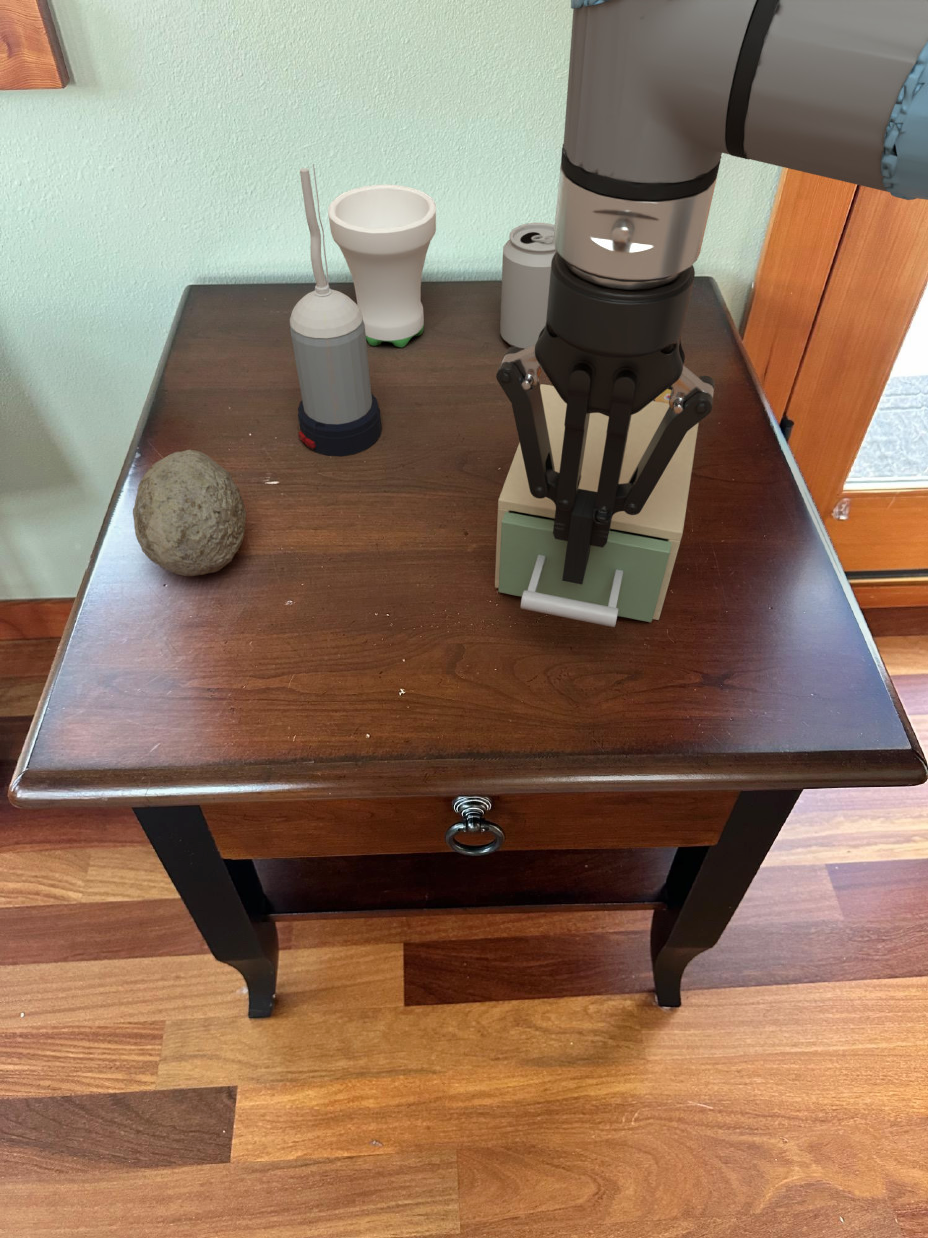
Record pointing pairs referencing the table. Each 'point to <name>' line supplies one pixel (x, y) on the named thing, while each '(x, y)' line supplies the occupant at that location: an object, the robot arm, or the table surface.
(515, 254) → the can
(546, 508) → the cabinet
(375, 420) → the humidifier
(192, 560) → the decorative stone
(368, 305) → the cup
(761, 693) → the table surface
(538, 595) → the drawer
